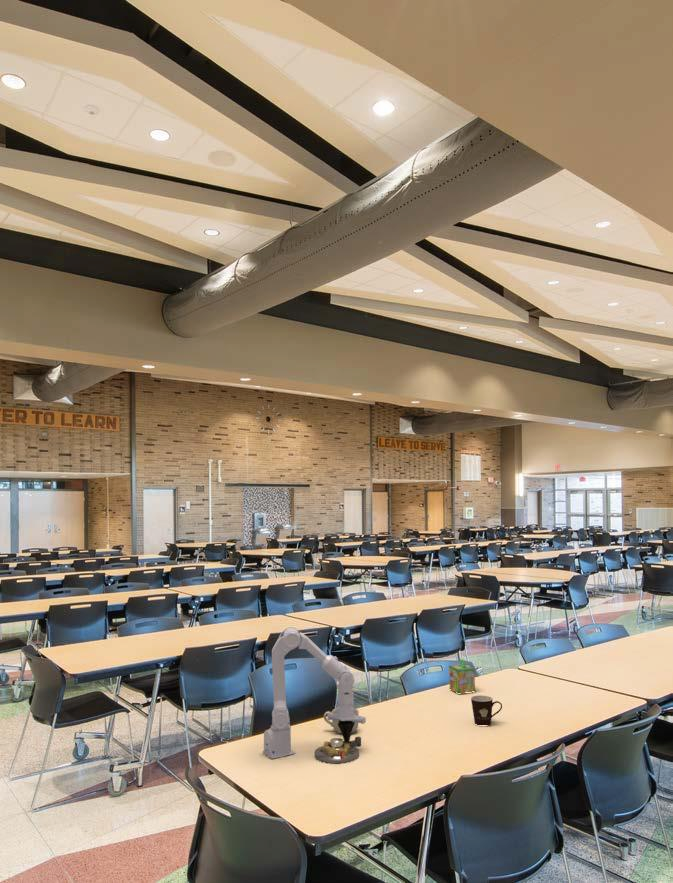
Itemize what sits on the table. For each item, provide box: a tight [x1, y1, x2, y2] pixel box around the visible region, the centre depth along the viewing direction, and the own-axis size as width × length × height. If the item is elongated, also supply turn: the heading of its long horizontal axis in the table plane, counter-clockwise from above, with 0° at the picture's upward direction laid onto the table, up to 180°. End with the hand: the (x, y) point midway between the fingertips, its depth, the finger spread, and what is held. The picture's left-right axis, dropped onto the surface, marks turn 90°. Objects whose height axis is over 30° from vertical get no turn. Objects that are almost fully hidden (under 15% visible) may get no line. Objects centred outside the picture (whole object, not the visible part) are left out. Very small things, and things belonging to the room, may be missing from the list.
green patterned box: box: [448, 658, 476, 693], centre depth 309 cm, size 9×9×15 cm
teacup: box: [323, 707, 360, 735], centre depth 257 cm, size 14×11×8 cm
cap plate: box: [314, 737, 360, 765], centre depth 232 cm, size 16×16×5 cm
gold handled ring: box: [322, 736, 362, 757], centre depth 233 cm, size 15×9×3 cm, turn 119°
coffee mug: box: [470, 694, 503, 726], centre depth 262 cm, size 12×9×10 cm
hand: (346, 741), depth 238 cm, fingers closed
